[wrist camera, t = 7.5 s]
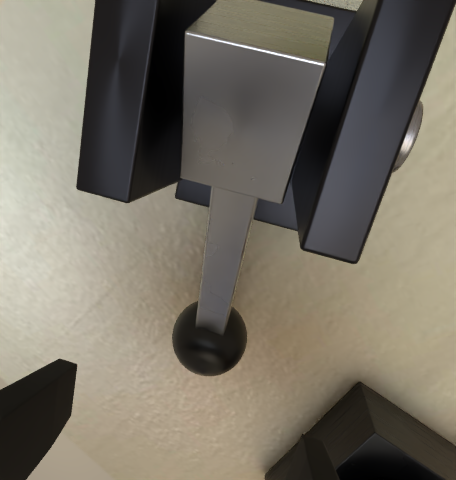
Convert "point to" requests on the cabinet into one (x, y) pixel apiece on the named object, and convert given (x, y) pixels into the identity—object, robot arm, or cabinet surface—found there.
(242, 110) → the lever
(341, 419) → the button housing
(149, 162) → the bracket
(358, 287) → the cabinet surface
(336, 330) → the cabinet surface
